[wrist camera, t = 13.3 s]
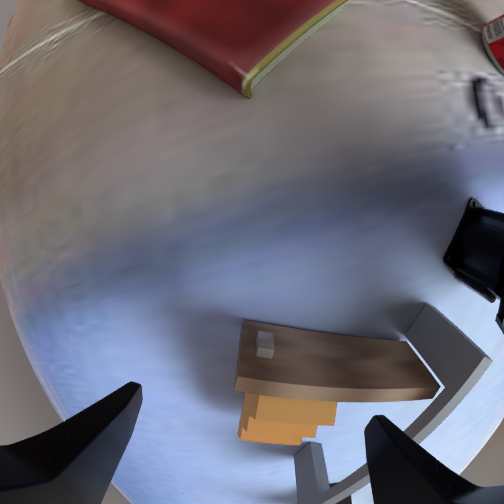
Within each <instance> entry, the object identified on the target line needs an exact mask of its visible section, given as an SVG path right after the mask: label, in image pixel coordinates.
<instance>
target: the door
mask: <svg viewBox="0 0 504 504" xmlns="http://www.w3.org/2000/svg"><path fill="white" fill-rule="evenodd" d="M440 387H441V386H440V385H439V384H438V382H437V381H436V380H435V378H434V377H433V376H432V374H431V373H430V372H429V370H428V369H427V368H426V366H425V365H424V364H423V362H422V361H421V360H420V358H419V357H418V356H417V354H416V353H415V352H414V351H413V349H412V348H411V347H410V345H409V344H408V343H407V342H406V341H396V340H384V339H374V338H364V337H355V336H346V335H338V334H330V333H323V332H316V331H309V330H302V329H295V328H289V327H283V326H277V325H271V324H265V323H259V322H254V321H248V320H243V325H242V329H241V335H240V343H239V352H238V361H237V370H236V378H235V387H234V391H237V392H243V393H250V394H256V395H264V396H271V397H280V398H289V399H300V400H313V401H330V402H395V401H411V400H423V399H433V397H434V396H435V394H436V393H437V391H438V390H439V388H440Z"/></svg>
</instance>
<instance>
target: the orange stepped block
mask: <svg viewBox="0 0 504 504" xmlns="http://www.w3.org/2000/svg"><path fill="white" fill-rule="evenodd" d="M336 408H337V402H330V401H313V400H300V399H289V398H280V397H271V396H264V395H256V394H250V393H245V395H244V401H243V406H242V412H241V418H240V423H239V429H238V436H239V438H240V440H244V441H252V442H261V443H271V444H284V445H301V441H302V437H308V438H315V436H316V430H317V425H328V426H334V422H335V415H336Z"/></svg>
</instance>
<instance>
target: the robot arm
mask: <svg viewBox="0 0 504 504" xmlns="http://www.w3.org/2000/svg"><path fill="white" fill-rule="evenodd" d="M472 202H474V205H473V206H472ZM448 257H449V260H448V261H447V258H448ZM443 262H444V263H445V264H446V265H447V266H449V267H450V268H451V269H452V270H454V271H455V274H454V276H455V278H456V279H458V280H459V281H460V282H461V283H463V284H464V285H465V286H467V287H468V288H469V289H471V290H473V291H474V292H476V293H477V294H479V295H480V296H482V297H483V298H485V299H486V300H487V301H489V302H490V303H493V302H495V300H496V298H497V299H498V300H500V305H499V310H498V313H497V315H496V320H495V321H496V322H497V324H498V325H499V327H500V329H501V330H502V332H503V334H504V213H501V212H497V211H493V210H489V209H485V208H484V207H483V206H482V205H481V204H480V203H479V202H478V201H477V200H476V199H475V198H470V200H469V202H468V204H467V207H466V209H465V212H464V214H463V216H462V219H461V221H460V223H459V226H458V228H457V230H456V232H455V234H454V236H453V239H452V241H451V243H450V245H449V247H448V249H447V251H446V253H445V255H444V257H443ZM142 400H143V397H142V386H141V384H139V383H136V382H132V381H131V382H129V383H127V384H125V385H124V386H122V387H121V388H119V389H117V390H116V391H114V392H113V393H111V394H109V395H108V396H106V397H104V398H103V399H101V400H99V401H98V402H96V403H94V404H93V405H91V406H89V407H88V408H86V409H84V410H83V411H81V412H79V413H78V414H76V415H74V416H72V417H71V418H69V419H67V420H66V421H65V422H62V423H60V424H58V425H57V426H55V427H53V428H51V429H49V430H47V431H45V432H42V433H40V434H38V435H35V436H33V437H30V438H27V439H25V440H22V441H19V442H16V443H13V444H10V445H2V446H0V504H101V502H102V500H103V498H104V495H105V493H106V491H107V489H108V486H109V484H110V482H111V480H112V477H113V475H114V473H115V471H116V469H117V466H118V464H119V462H120V460H121V458H122V455H123V453H124V451H125V449H126V447H127V445H128V443H129V440H130V438H131V436H132V433H133V430H134V427H135V423H136V420H137V417H138V414H139V411H140V408H141V405H142ZM364 435H365V446H366V459H367V466H368V472H369V477H370V483H371V488H372V494H373V500H374V504H504V486H493V487H480V486H477V485H474V484H472V483H471V482H469V481H468V480H466V479H464V478H463V477H461V476H459V475H458V474H456V473H455V472H453V471H452V470H450V469H449V468H448V467H446V466H445V465H444V464H442V463H441V462H440V461H438V460H437V459H436V458H435V457H433V456H432V455H431V454H430V453H428V452H427V451H426V450H425V449H424V448H422V447H421V446H420V445H419V444H417V443H416V442H415V441H414V440H413V439H411V438H410V437H409V436H408V435H407V434H405V433H404V432H403V431H402V430H401V429H399V428H398V427H397V426H396V425H395V424H393V423H392V422H391V421H390V420H389V419H388V418H386V417H385V416H384V415H375V416H373V417H372V419H371V420H370V422H369V423H368V424H367V426H366V427H365V430H364Z"/></svg>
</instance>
